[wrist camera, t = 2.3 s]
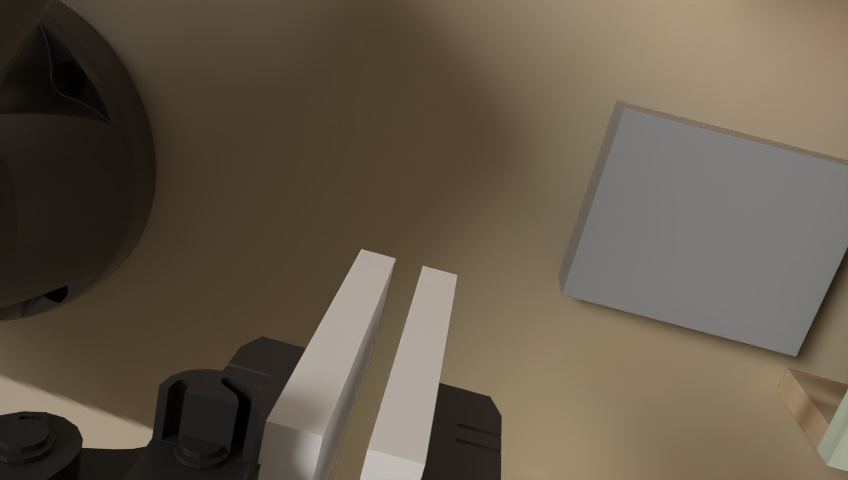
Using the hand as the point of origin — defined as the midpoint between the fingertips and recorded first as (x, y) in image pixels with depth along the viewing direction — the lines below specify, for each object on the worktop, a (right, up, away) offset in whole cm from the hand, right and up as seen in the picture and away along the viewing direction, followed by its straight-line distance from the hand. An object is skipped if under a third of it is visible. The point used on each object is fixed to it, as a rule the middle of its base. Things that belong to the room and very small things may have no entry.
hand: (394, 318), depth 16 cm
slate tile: (+12, +3, +16) cm, 20 cm away
